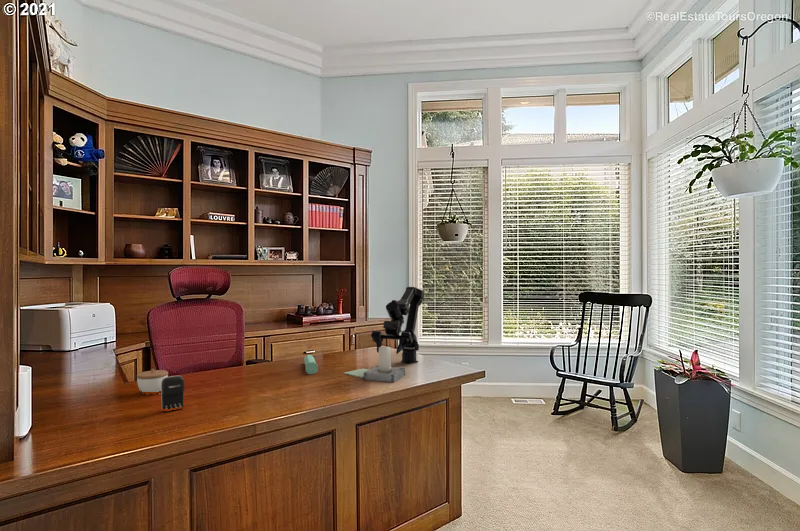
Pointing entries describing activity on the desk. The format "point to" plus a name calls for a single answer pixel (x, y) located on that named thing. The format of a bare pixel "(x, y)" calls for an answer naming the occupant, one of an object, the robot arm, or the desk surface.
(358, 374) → the felt pad
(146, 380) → the lidded jar
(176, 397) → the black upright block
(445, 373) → the desk surface
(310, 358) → the green faceted rod
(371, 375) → the flange
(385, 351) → the end plug
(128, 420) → the desk surface
